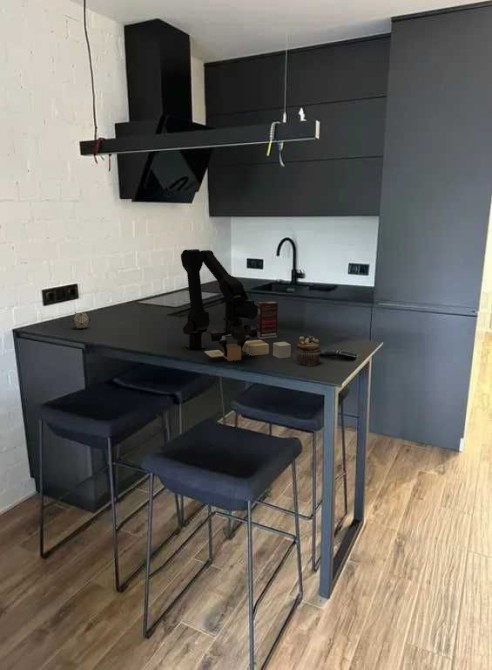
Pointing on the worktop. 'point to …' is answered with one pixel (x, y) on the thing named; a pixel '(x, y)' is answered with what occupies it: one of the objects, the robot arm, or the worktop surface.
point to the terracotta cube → (233, 352)
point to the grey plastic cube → (281, 349)
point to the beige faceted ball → (81, 320)
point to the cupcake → (308, 351)
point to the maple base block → (256, 347)
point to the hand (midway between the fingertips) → (232, 355)
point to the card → (214, 353)
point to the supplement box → (267, 319)
